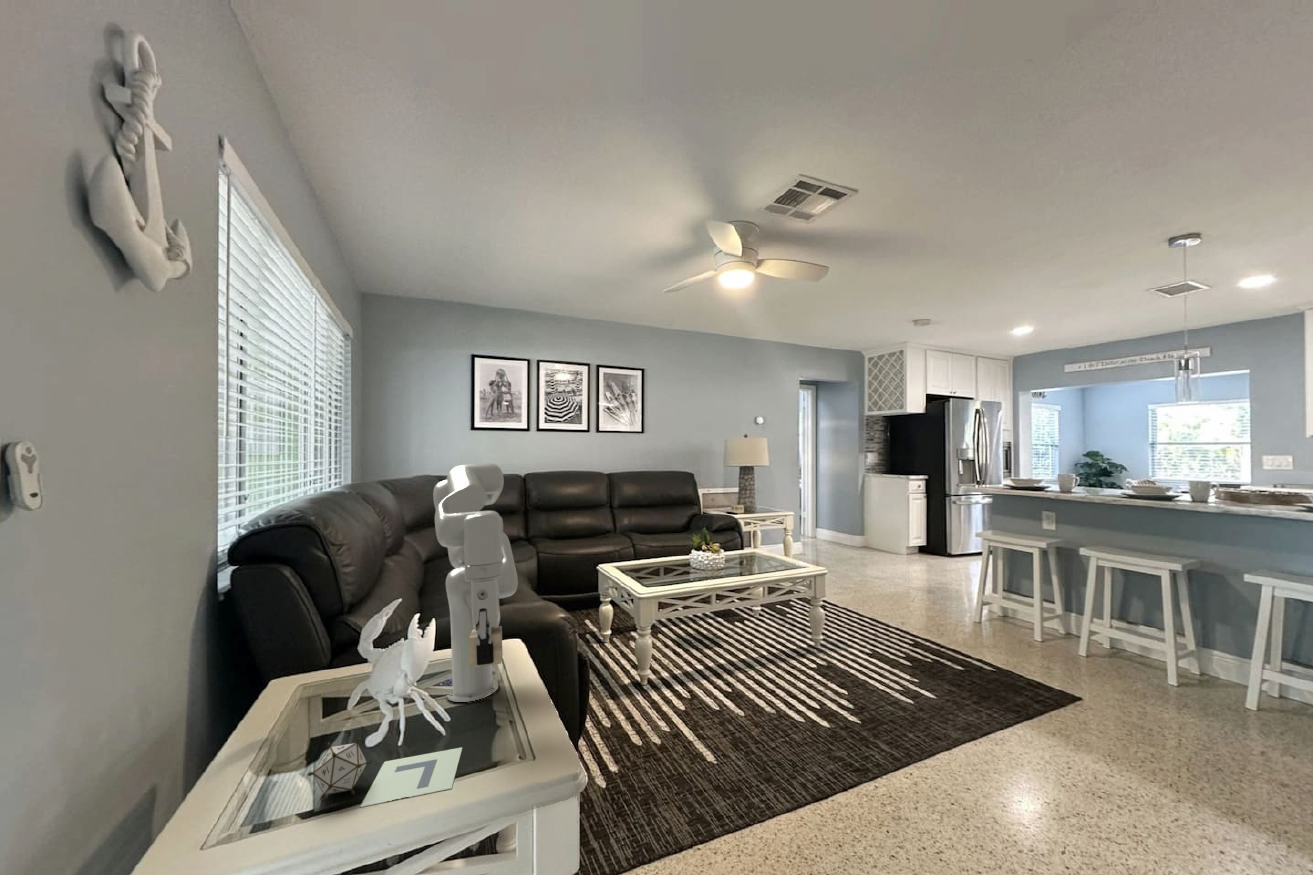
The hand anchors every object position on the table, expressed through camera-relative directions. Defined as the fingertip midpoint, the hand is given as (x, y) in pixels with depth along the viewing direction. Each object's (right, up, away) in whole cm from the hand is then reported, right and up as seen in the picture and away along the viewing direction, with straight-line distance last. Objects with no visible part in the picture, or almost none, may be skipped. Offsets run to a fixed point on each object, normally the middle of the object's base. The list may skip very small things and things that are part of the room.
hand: (486, 657), depth 105 cm
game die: (-19, -15, -18) cm, 31 cm away
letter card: (-8, -15, -15) cm, 22 cm away
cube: (0, -1, 0) cm, 1 cm away
